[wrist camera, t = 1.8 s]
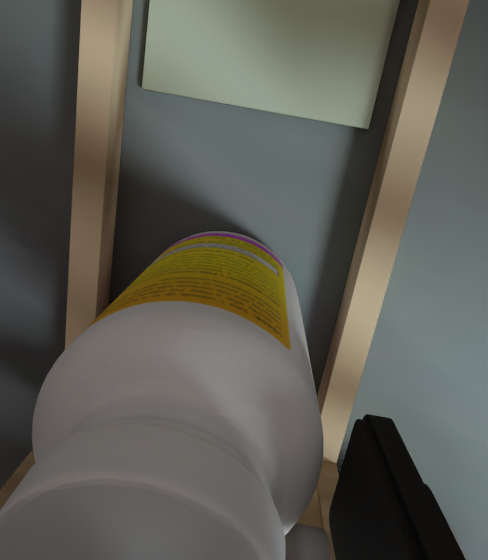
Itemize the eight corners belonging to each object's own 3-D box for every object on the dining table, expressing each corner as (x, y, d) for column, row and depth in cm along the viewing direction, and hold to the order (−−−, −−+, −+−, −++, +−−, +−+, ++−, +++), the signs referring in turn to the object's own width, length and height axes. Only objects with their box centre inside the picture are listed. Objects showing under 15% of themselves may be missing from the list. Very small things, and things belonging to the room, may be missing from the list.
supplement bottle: (121, 259, 18) (-190, 484, 6) (266, 204, 17) (256, 338, 5) (183, 389, 20) (41, 775, 8) (318, 346, 19) (409, 713, 6)
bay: (73, -318, 13) (-168, -891, 6) (521, -241, 13) (832, -727, 6) (46, 420, 21) (-69, 559, 14) (323, 471, 21) (350, 637, 14)
